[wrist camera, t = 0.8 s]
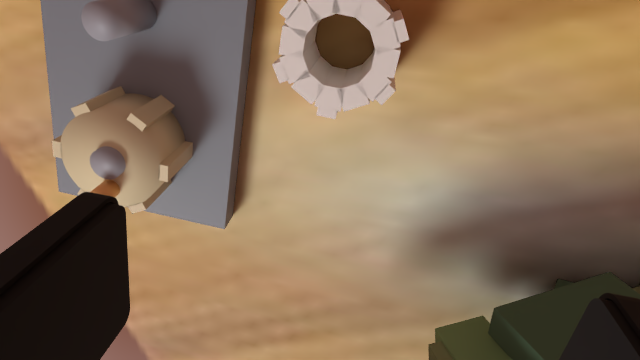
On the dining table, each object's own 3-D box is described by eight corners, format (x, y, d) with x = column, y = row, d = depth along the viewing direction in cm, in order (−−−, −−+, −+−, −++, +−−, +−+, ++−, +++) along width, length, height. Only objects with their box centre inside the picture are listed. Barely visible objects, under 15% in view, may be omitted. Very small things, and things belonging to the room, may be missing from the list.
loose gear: (301, -37, 27) (285, -36, 23) (415, -13, 27) (421, -8, 22) (284, 83, 30) (266, 104, 26) (385, 105, 30) (385, 130, 26)
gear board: (49, -153, 26) (-66, -192, 19) (267, -109, 26) (226, -134, 19) (75, 180, 36) (4, 230, 29) (232, 215, 35) (197, 274, 29)
